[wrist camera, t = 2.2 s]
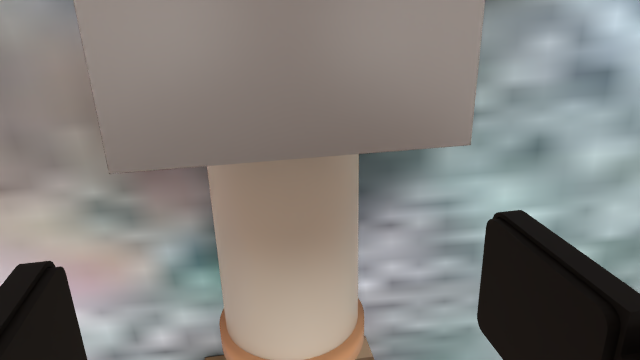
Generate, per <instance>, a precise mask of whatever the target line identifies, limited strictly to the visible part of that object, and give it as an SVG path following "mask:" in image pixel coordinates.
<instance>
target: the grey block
mask: <svg viewBox="0 0 640 360" xmlns="http://www.w3.org/2000/svg"><path fill="white" fill-rule="evenodd" d="M73 1H74V6H75V11H76V16H77V20H78V25H79V30H80V35H81V40H82V45H83V50H84V54H85V59H86V64H87V69H88V74H89V79H90V84H91V88H92V93H93V98H94V103H95V108H96V113H97V118H98V122H99V127H100V132H101V137H102V142H103V147H104V152H105V156H106V161H107V166H108V171H109V174H114V173H127V172H139V171H152V170H164V169H177V168H189V167H202V166H214V165H227V164H239V163H252V162H264V161H277V160H289V159H302V158H314V157H327V156H339V155H352V154H364V153H377V152H389V151H402V150H414V149H427V148H439V147H452V146H464V145H471V136H472V126H473V116H474V106H475V96H476V85H477V75H478V65H479V55H480V45H481V35H482V25H483V15H484V5H485V0H73Z"/></svg>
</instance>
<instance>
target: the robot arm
mask: <svg viewBox="0 0 640 360" xmlns="http://www.w3.org/2000/svg"><path fill="white" fill-rule="evenodd" d="M477 319H478V324H479V327H480V329H481V331H482V333H483V334H484V335H485V336H486V338H487V339H488V340H489V342H490V343H491V344H492V346H493V347H494V348H495V349H496V351H497V352H498V353H499V355H500V356H501V357H502V359H503V360H640V294H639V293H638V292H637V291H635V290H634V289H632V288H631V287H629V286H628V285H627V284H625V283H624V282H622V281H621V280H620V279H618V278H617V277H615V276H614V275H613V274H611V273H610V272H608V271H607V270H606V269H604V268H603V267H601V266H600V265H599V264H597V263H596V262H594V261H593V260H591V259H590V258H589V257H587V256H586V255H584V254H583V253H582V252H580V251H579V250H577V249H576V248H575V247H573V246H572V245H570V244H569V243H568V242H566V241H565V240H563V239H562V238H561V237H559V236H558V235H556V234H555V233H553V232H552V231H551V230H549V229H548V228H546V227H545V226H544V225H542V224H541V223H539V222H538V221H537V220H535V219H534V218H532V217H531V216H530V215H528V214H527V213H525V212H524V211H522V210H517V211H508V212H498V213H496V214H495V215H494V217H493V219H490V220H489V221H488V222H487V226H486V234H485V244H484V254H483V264H482V274H481V283H480V293H479V303H478V313H477ZM0 360H87V357H86V353H85V349H84V345H83V341H82V337H81V333H80V329H79V325H78V321H77V317H76V313H75V309H74V305H73V301H72V297H71V293H70V289H69V285H68V280H67V276H66V273H65V270H64V269H63V268H62V267H55V265H54V264H53V262H51V261H44V262H35V263H26V264H19V265H18V266H17V267H16V268H15V269H14V270H13V271H12V273H11V274H10V275H9V276H8V278H7V279H6V280H5V281H4V283H3V284H2V285H1V286H0Z"/></svg>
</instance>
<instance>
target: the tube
mask: <svg viewBox="0 0 640 360" xmlns="http://www.w3.org/2000/svg"><path fill="white" fill-rule="evenodd" d="M207 171H208V179H209V188H210V196H211V204H212V212H213V220H214V229H215V237H216V245H217V253H218V261H219V270H220V278H221V286H222V294H223V302H224V309H223V311H222V314H221V317H220V332H221V340H222V348H223V352H224V356H225V358H226V360H355V359H356V358H357V357H358V355H359V353H360V351H361V349H362V345H363V340H364V310H363V307H362V304H361V302H360V300H359V299H358V211H359V154H352V155H339V156H327V157H314V158H302V159H289V160H277V161H264V162H252V163H239V164H227V165H214V166H207Z"/></svg>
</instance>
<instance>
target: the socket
mask: <svg viewBox="0 0 640 360" xmlns="http://www.w3.org/2000/svg"><path fill="white" fill-rule="evenodd" d="M205 360H226V358H225V356H224V355H221V356H214V357H207V358H205ZM355 360H374V358H373V355H372V353H371V350H370V347H369V345H368V342H367V339H366V337H365V336H364V340H363V345H362V349H361V351H360V353H359V355H358V357H357V358H356V359H355Z"/></svg>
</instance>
